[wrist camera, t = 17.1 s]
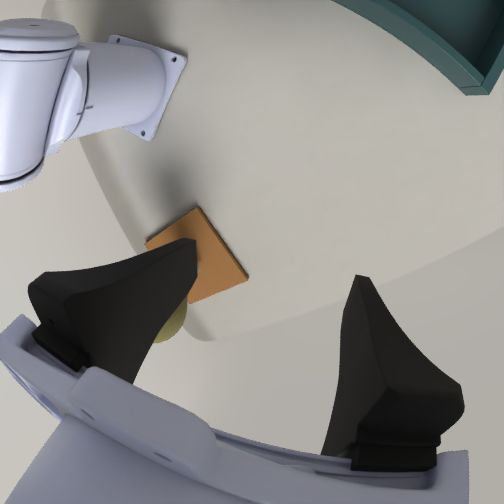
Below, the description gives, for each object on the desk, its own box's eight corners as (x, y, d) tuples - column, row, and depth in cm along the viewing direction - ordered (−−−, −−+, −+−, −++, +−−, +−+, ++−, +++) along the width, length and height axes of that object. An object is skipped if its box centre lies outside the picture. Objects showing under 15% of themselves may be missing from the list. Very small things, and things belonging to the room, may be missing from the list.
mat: (191, 301, 30) (189, 304, 29) (146, 242, 28) (144, 244, 27) (249, 278, 26) (247, 280, 26) (198, 206, 24) (196, 207, 23)
